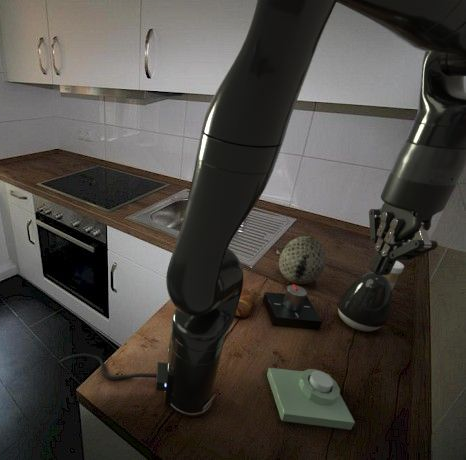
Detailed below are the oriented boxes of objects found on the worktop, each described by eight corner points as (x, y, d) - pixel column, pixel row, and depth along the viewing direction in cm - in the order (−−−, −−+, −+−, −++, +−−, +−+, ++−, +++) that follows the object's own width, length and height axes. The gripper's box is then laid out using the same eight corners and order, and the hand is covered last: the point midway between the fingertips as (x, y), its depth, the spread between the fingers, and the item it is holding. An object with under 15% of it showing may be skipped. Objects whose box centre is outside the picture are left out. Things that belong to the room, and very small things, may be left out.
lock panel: (272, 326, 79) (275, 316, 78) (262, 300, 88) (264, 291, 87) (319, 330, 78) (322, 321, 77) (303, 303, 87) (307, 294, 85)
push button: (313, 391, 59) (316, 385, 59) (306, 375, 63) (308, 369, 62) (333, 394, 59) (336, 388, 58) (325, 377, 62) (327, 371, 61)
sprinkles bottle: (362, 296, 90) (380, 256, 84) (381, 300, 88) (401, 260, 82) (366, 306, 86) (385, 265, 80) (386, 310, 85) (407, 269, 78)
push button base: (281, 421, 58) (286, 407, 56) (266, 374, 67) (270, 361, 65) (351, 430, 57) (359, 416, 55) (326, 381, 65) (332, 368, 64)
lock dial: (304, 311, 80) (310, 295, 77) (286, 310, 80) (291, 294, 78) (297, 300, 84) (302, 284, 81) (280, 299, 84) (285, 283, 81)
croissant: (227, 286, 94) (229, 276, 92) (262, 304, 87) (265, 294, 85) (203, 304, 87) (205, 293, 85) (240, 326, 79) (243, 314, 78)
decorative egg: (277, 265, 104) (289, 225, 97) (318, 277, 98) (333, 235, 91) (271, 284, 95) (284, 241, 88) (316, 297, 89) (332, 252, 82)
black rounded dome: (327, 323, 80) (347, 274, 73) (339, 304, 87) (358, 257, 80) (376, 345, 74) (403, 294, 67) (384, 323, 80) (409, 274, 73)
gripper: (493, 191, 40) (430, 299, 48) (419, 163, 51) (379, 254, 59) (428, 188, 40) (377, 295, 48) (370, 161, 52) (336, 251, 60)
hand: (378, 272), depth 54 cm, fingers closed
